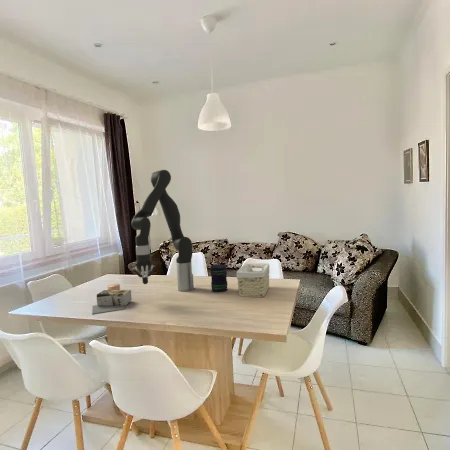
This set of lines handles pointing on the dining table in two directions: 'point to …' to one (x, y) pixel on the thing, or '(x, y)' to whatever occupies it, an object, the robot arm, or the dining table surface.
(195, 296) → the dining table surface
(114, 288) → the peach rounded knob
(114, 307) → the mat
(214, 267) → the storage jar
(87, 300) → the dining table surface
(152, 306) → the dining table surface
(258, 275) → the storage basket
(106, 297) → the coffee box
